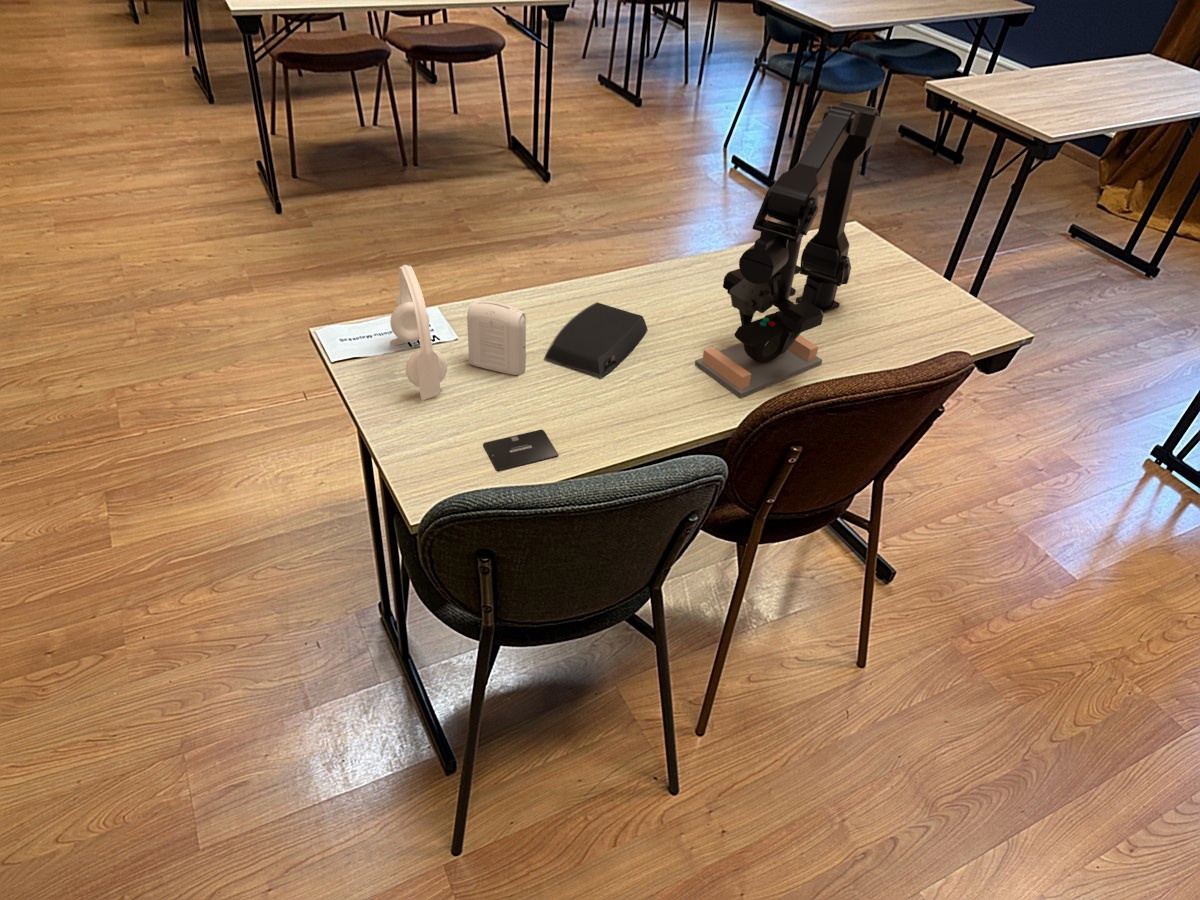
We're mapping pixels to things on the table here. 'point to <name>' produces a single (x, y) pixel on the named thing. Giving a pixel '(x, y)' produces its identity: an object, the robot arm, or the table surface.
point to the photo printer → (496, 337)
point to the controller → (762, 337)
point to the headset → (417, 335)
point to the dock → (757, 366)
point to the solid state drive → (520, 450)
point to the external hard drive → (597, 340)
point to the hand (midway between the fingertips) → (763, 341)
